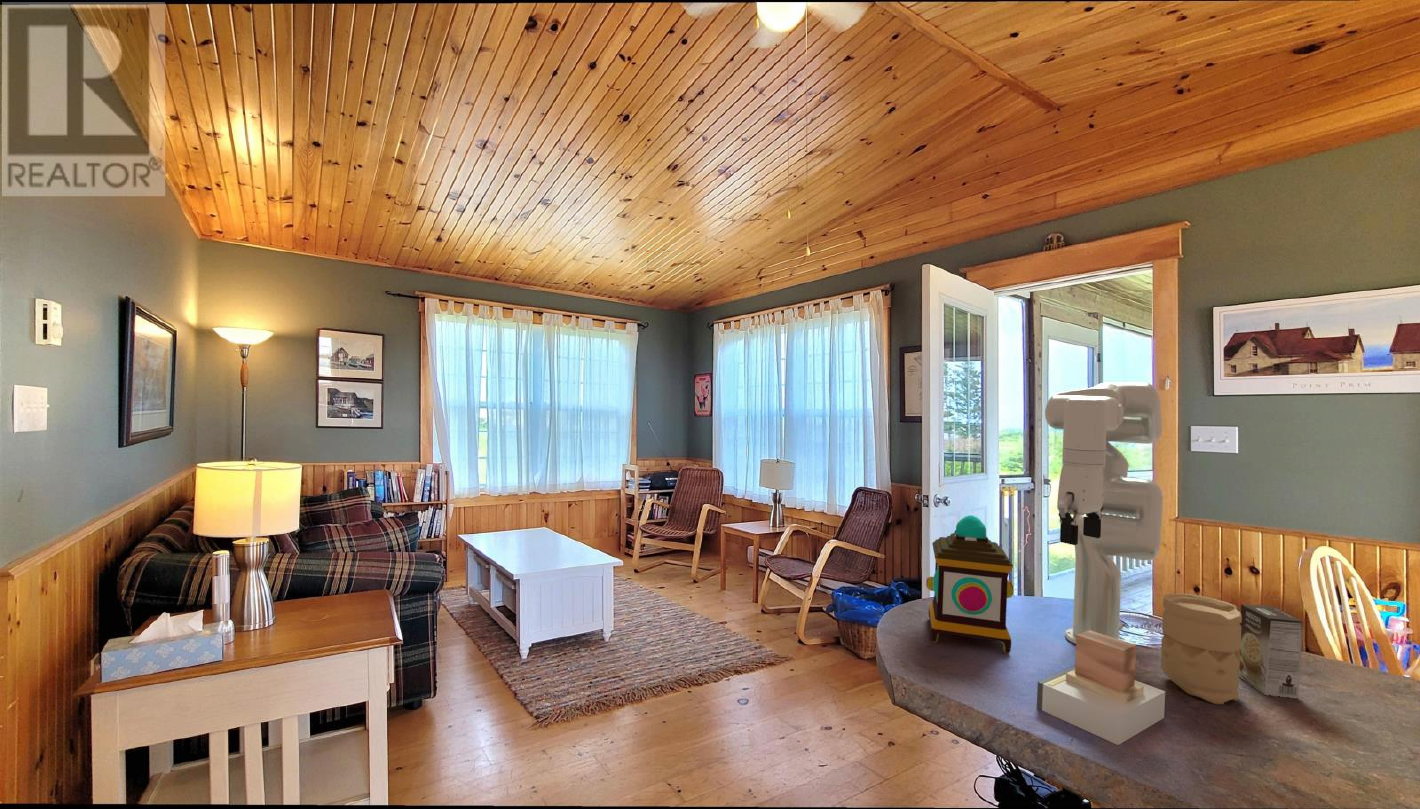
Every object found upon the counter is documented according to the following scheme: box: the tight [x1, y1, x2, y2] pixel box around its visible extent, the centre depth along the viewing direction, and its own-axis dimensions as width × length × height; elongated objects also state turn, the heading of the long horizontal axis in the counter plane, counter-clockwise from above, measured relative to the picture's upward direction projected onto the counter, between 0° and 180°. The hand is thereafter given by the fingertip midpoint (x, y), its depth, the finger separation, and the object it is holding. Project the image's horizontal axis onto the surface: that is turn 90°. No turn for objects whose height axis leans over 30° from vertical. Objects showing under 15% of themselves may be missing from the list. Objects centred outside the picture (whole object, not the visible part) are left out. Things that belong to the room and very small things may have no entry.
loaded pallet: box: [1066, 630, 1144, 704], centre depth 113 cm, size 8×10×9 cm
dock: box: [1036, 666, 1166, 746], centre depth 114 cm, size 18×14×5 cm
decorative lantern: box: [925, 514, 1014, 655], centre depth 149 cm, size 20×20×30 cm
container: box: [1160, 592, 1242, 705], centre depth 124 cm, size 13×13×18 cm
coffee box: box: [1239, 603, 1304, 699], centre depth 127 cm, size 9×6×16 cm
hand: (1080, 539), depth 125 cm, fingers open, 9 cm apart
